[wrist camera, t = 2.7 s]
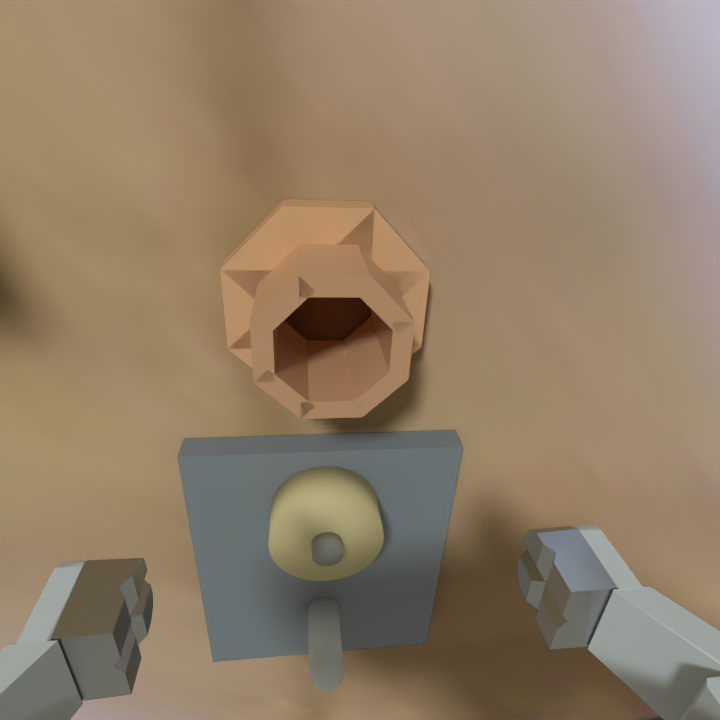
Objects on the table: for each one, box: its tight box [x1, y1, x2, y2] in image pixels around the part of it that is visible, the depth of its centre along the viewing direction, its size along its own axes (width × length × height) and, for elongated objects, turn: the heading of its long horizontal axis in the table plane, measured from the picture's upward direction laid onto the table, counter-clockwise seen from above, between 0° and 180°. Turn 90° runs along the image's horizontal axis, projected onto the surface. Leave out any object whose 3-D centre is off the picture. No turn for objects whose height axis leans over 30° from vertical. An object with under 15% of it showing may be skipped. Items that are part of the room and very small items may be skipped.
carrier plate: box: [178, 430, 463, 692], centre depth 28 cm, size 15×18×6 cm
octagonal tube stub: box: [220, 199, 430, 419], centre depth 20 cm, size 9×9×6 cm
